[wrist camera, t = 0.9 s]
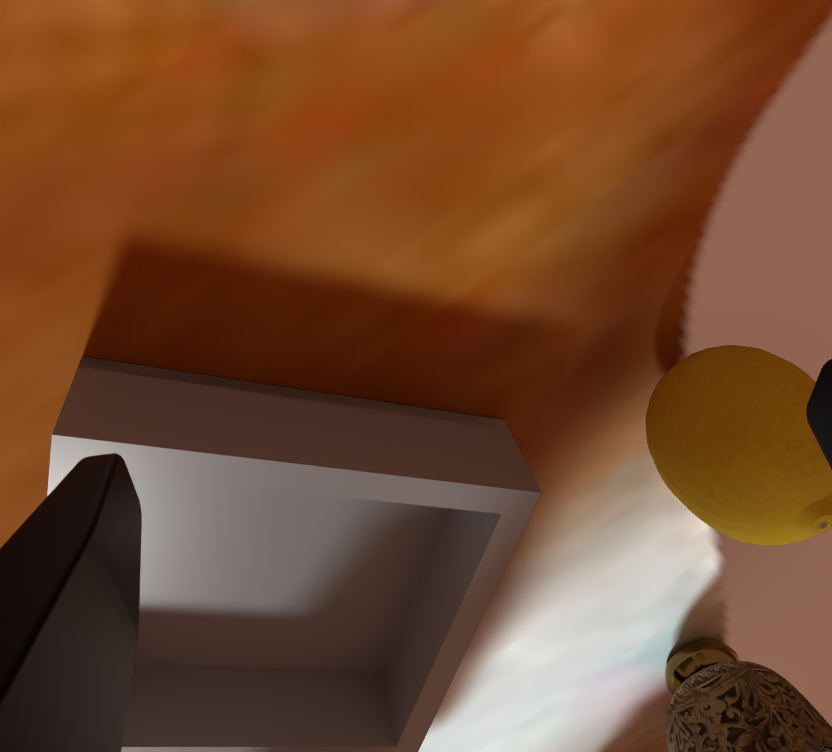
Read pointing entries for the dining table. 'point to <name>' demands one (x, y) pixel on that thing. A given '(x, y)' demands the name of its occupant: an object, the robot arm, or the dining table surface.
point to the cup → (736, 706)
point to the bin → (297, 555)
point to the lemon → (741, 445)
